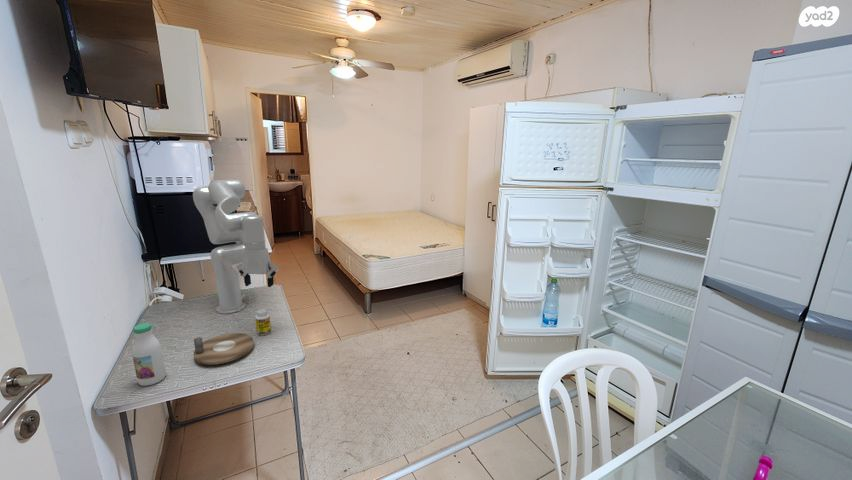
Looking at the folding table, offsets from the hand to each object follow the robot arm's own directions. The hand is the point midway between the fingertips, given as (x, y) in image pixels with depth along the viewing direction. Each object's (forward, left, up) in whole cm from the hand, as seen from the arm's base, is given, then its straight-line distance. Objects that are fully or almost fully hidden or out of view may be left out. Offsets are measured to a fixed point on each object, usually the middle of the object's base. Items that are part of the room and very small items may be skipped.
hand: (259, 285), depth 146 cm
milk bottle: (+34, -21, -22) cm, 46 cm away
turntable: (+16, -7, -20) cm, 27 cm away
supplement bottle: (0, 0, -22) cm, 22 cm away
